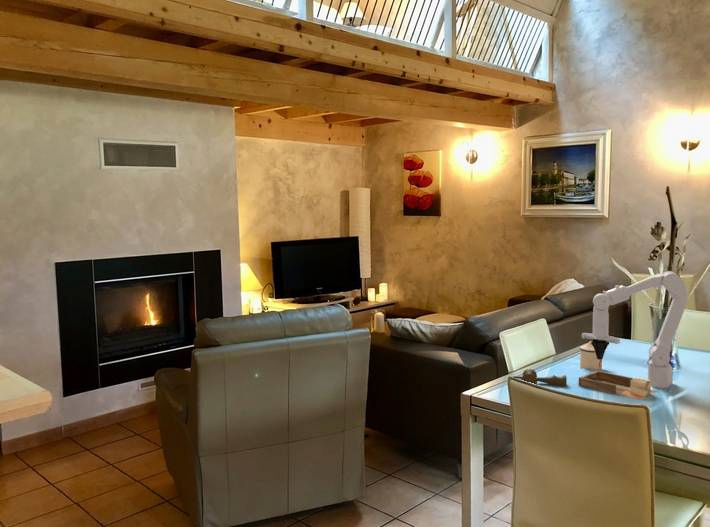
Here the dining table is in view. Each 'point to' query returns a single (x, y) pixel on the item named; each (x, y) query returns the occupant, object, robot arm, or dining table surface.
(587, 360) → the teacup with lid
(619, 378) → the brown wooden tray
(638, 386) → the maple block
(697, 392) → the dining table surface
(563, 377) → the kendama
